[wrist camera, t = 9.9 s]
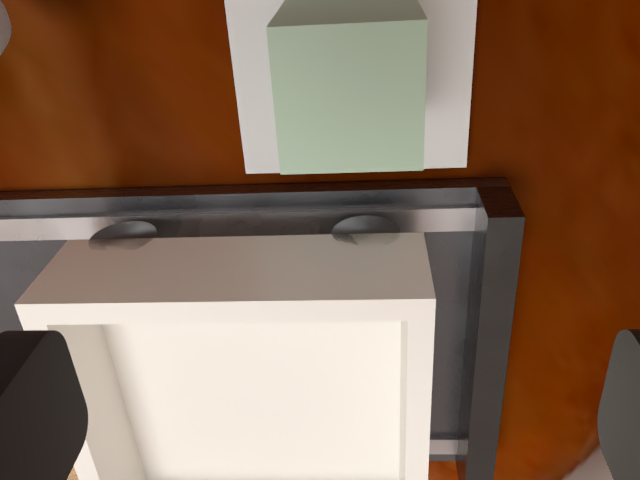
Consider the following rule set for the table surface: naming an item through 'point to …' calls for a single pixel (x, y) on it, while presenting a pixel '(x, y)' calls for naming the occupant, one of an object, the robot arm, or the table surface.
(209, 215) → the track
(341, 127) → the block
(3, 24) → the teacup
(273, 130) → the pad
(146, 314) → the cart
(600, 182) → the table surface
